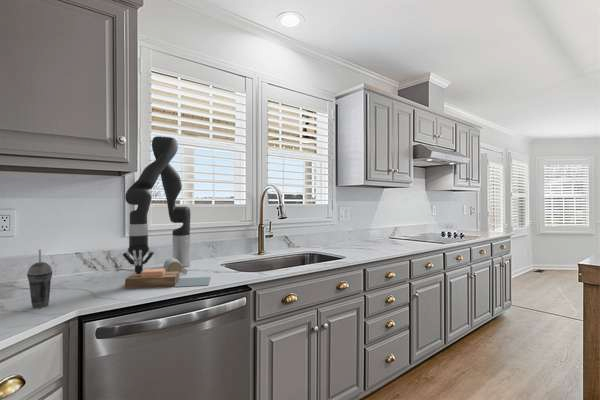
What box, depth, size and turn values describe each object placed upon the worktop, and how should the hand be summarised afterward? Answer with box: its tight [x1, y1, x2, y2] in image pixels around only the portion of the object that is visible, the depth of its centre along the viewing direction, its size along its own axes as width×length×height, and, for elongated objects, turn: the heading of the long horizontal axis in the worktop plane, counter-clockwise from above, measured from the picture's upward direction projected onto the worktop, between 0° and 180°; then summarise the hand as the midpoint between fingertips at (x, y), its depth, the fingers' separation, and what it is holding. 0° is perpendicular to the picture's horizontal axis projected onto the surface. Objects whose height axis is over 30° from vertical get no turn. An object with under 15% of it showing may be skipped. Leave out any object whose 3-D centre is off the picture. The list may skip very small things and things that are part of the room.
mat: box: [173, 276, 211, 288], centre depth 157 cm, size 16×14×1 cm
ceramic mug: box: [163, 257, 188, 274], centre depth 175 cm, size 11×8×8 cm
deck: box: [124, 271, 180, 290], centre depth 154 cm, size 12×20×4 cm, turn 101°
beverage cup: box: [26, 249, 53, 309], centre depth 123 cm, size 7×7×20 cm
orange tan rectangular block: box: [141, 268, 166, 277], centre depth 154 cm, size 6×9×2 cm, turn 102°
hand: (138, 273), depth 153 cm, fingers closed
